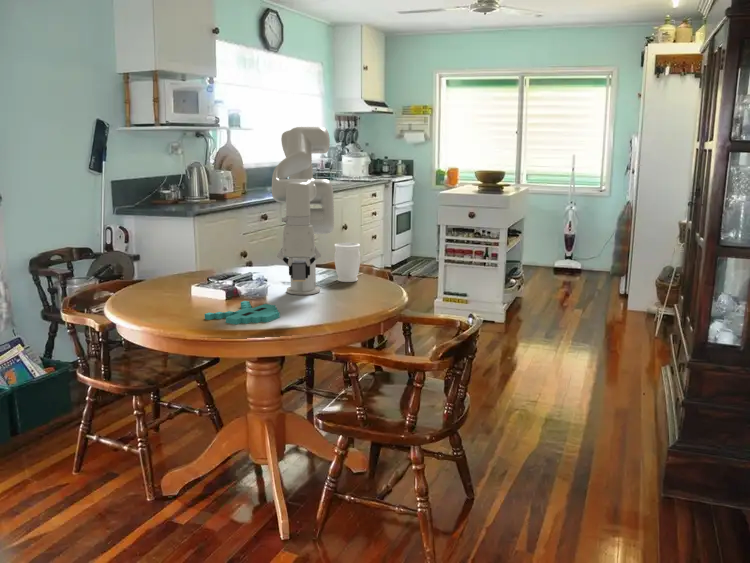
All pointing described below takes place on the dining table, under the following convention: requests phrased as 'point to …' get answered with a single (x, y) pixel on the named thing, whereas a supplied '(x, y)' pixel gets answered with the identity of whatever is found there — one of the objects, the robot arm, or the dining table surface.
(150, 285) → the dining table surface
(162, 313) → the dining table surface
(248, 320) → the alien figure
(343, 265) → the jar
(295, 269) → the block
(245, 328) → the dining table surface
